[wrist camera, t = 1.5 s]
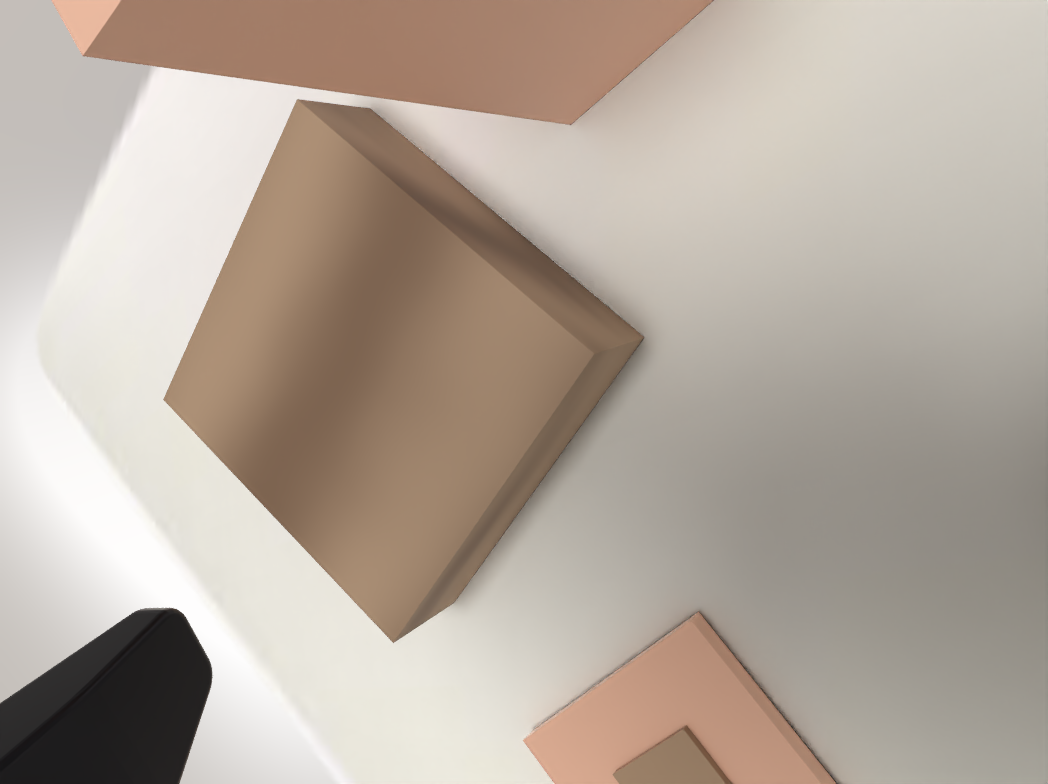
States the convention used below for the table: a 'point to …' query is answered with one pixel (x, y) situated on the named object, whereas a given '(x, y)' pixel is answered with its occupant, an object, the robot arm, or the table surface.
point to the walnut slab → (389, 363)
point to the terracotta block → (396, 45)
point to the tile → (675, 723)
